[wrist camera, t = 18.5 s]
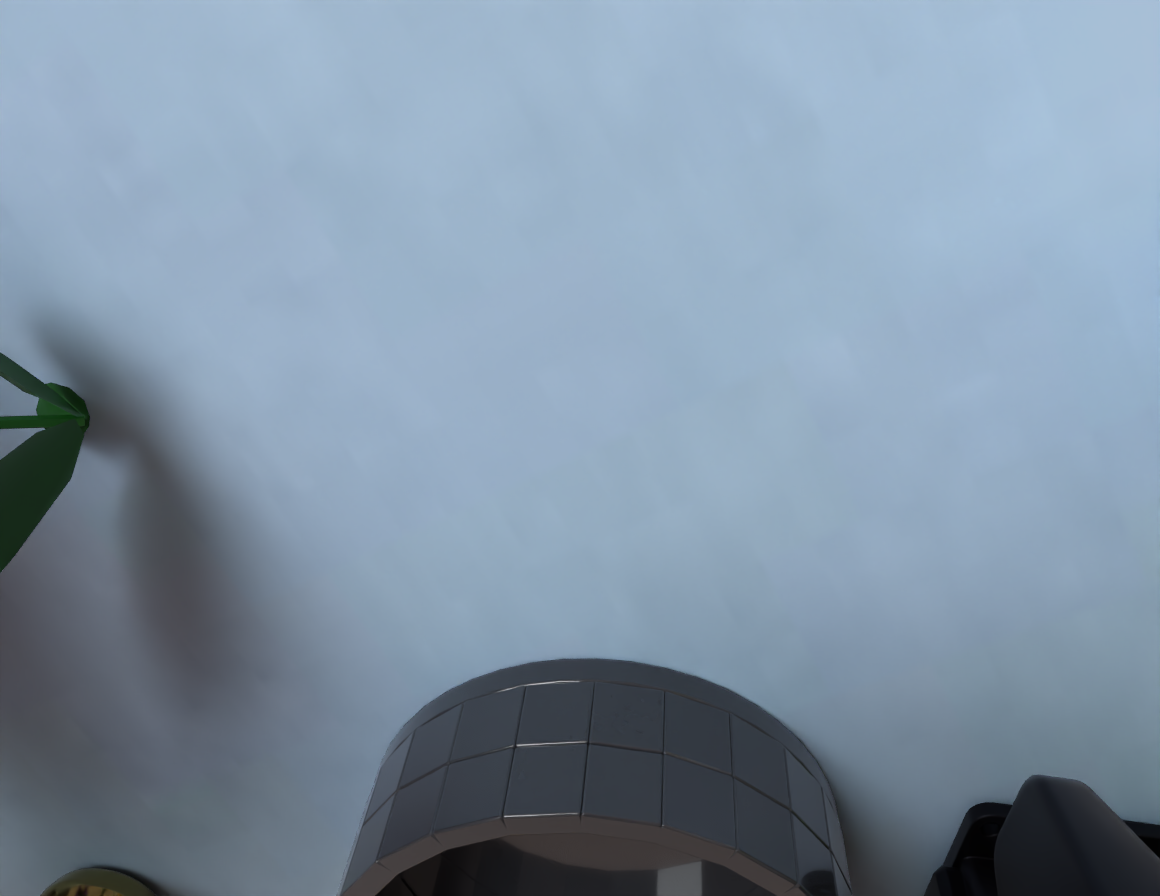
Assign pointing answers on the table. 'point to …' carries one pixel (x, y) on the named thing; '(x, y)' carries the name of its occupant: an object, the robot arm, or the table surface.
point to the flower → (37, 456)
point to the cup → (96, 884)
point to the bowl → (596, 793)
